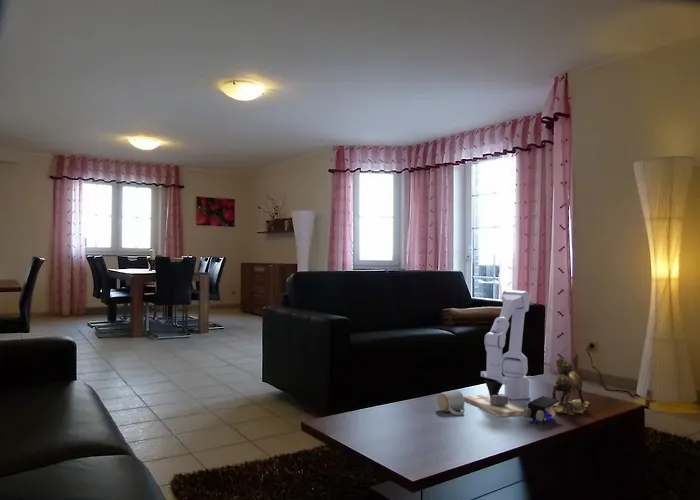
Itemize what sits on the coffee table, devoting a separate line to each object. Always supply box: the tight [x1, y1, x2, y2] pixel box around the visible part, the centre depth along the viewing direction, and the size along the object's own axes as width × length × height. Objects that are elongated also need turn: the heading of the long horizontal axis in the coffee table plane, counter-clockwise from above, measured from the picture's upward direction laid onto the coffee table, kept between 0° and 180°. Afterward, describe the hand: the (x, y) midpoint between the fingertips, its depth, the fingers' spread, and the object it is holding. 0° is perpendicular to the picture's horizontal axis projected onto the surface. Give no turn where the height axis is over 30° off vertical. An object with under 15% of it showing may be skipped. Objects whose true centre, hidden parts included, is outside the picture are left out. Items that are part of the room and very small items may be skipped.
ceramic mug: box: [436, 389, 466, 416], centre depth 189 cm, size 10×8×7 cm
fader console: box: [463, 393, 525, 418], centre depth 197 cm, size 12×23×2 cm, turn 21°
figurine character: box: [522, 396, 560, 427], centre depth 180 cm, size 7×8×15 cm
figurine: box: [551, 352, 591, 416], centre depth 199 cm, size 13×25×20 cm, turn 136°
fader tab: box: [490, 393, 509, 406], centre depth 195 cm, size 5×4×3 cm
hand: (493, 399), depth 198 cm, fingers closed
